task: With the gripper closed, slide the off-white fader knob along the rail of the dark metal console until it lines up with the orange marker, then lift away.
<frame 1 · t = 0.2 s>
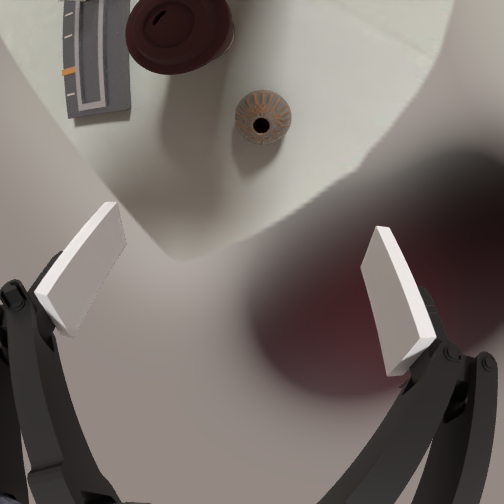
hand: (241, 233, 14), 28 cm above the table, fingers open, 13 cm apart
console: (97, 28, 26), on the table
coffee cup: (207, 35, 28), on the table
vase: (264, 111, 35), on the table
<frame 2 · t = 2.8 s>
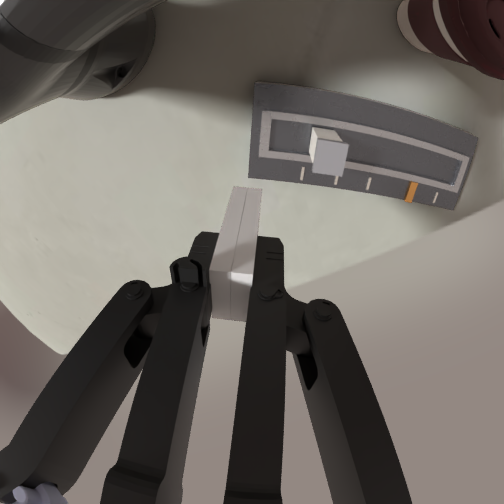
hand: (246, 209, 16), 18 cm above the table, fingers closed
fader knob: (325, 148, 26), point 5 cm above the table, slide at -6.5 cm
console: (371, 144, 29), on the table
coffee cup: (422, 24, 19), on the table
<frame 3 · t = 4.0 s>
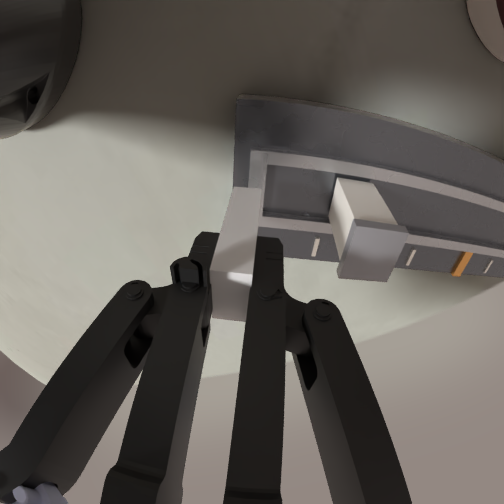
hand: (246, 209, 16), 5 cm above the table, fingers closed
fader knob: (360, 224, 15), point 5 cm above the table, slide at -6.5 cm
console: (419, 198, 19), on the table
coffee cup: (496, 20, 8), on the table
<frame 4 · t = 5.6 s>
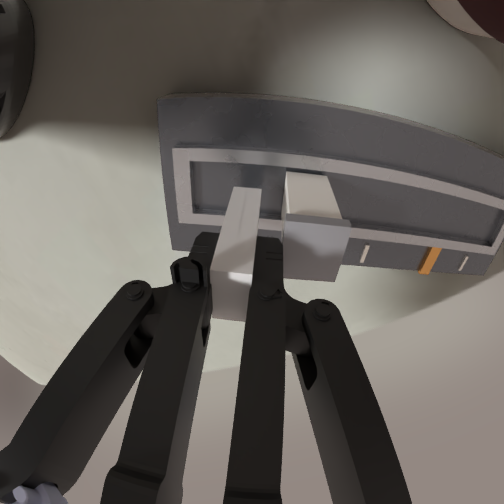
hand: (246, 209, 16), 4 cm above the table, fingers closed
fader knob: (307, 219, 15), point 5 cm above the table, slide at -5.2 cm, touching gripper
console: (372, 188, 18), on the table
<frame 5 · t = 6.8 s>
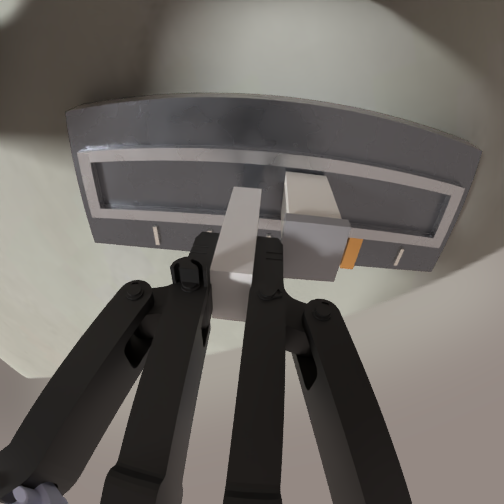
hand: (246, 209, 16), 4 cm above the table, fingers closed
fader knob: (307, 219, 15), point 5 cm above the table, slide at 1.8 cm, touching gripper
console: (273, 176, 19), on the table
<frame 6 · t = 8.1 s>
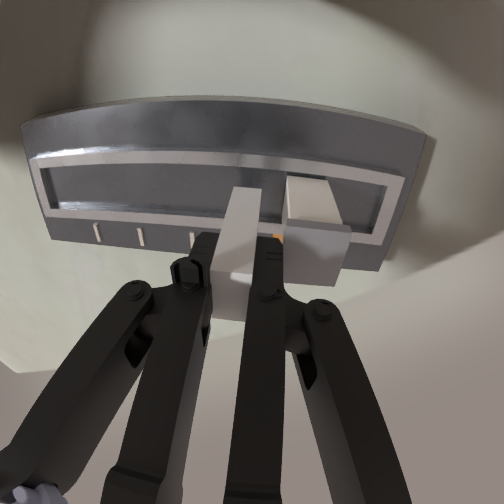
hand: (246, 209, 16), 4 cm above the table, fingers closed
fader knob: (308, 224, 15), point 5 cm above the table, slide at 7.1 cm, touching gripper
console: (197, 173, 19), on the table
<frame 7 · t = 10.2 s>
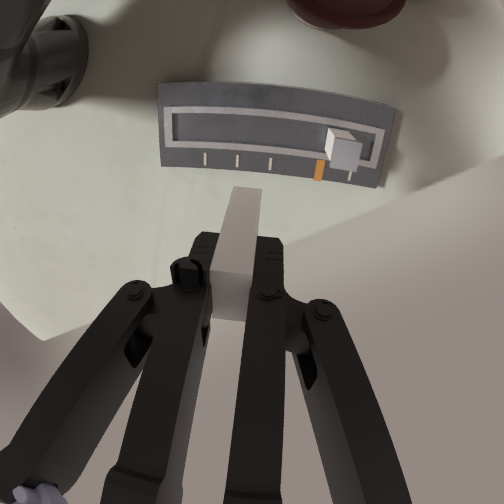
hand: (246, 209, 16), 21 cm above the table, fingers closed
fader knob: (340, 147, 28), point 5 cm above the table, slide at 7.4 cm
console: (273, 127, 32), on the table
coffee cup: (320, 3, 22), on the table
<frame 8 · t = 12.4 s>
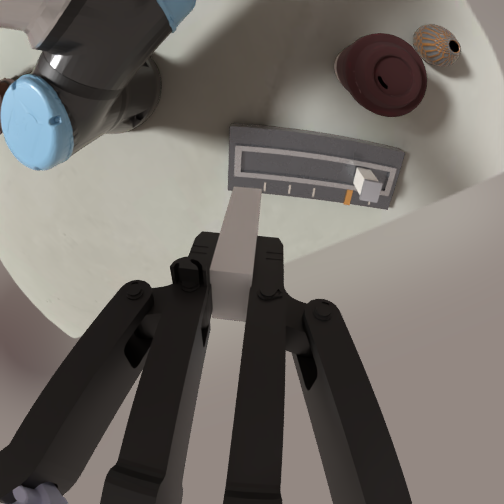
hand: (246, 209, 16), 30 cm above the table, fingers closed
flowerpot: (12, 101, 36), on the table
fader knob: (366, 183, 40), point 5 cm above the table, slide at 7.4 cm
console: (316, 164, 44), on the table
coffee cup: (356, 69, 33), on the table
vase: (425, 44, 28), on the table
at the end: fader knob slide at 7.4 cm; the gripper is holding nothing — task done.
